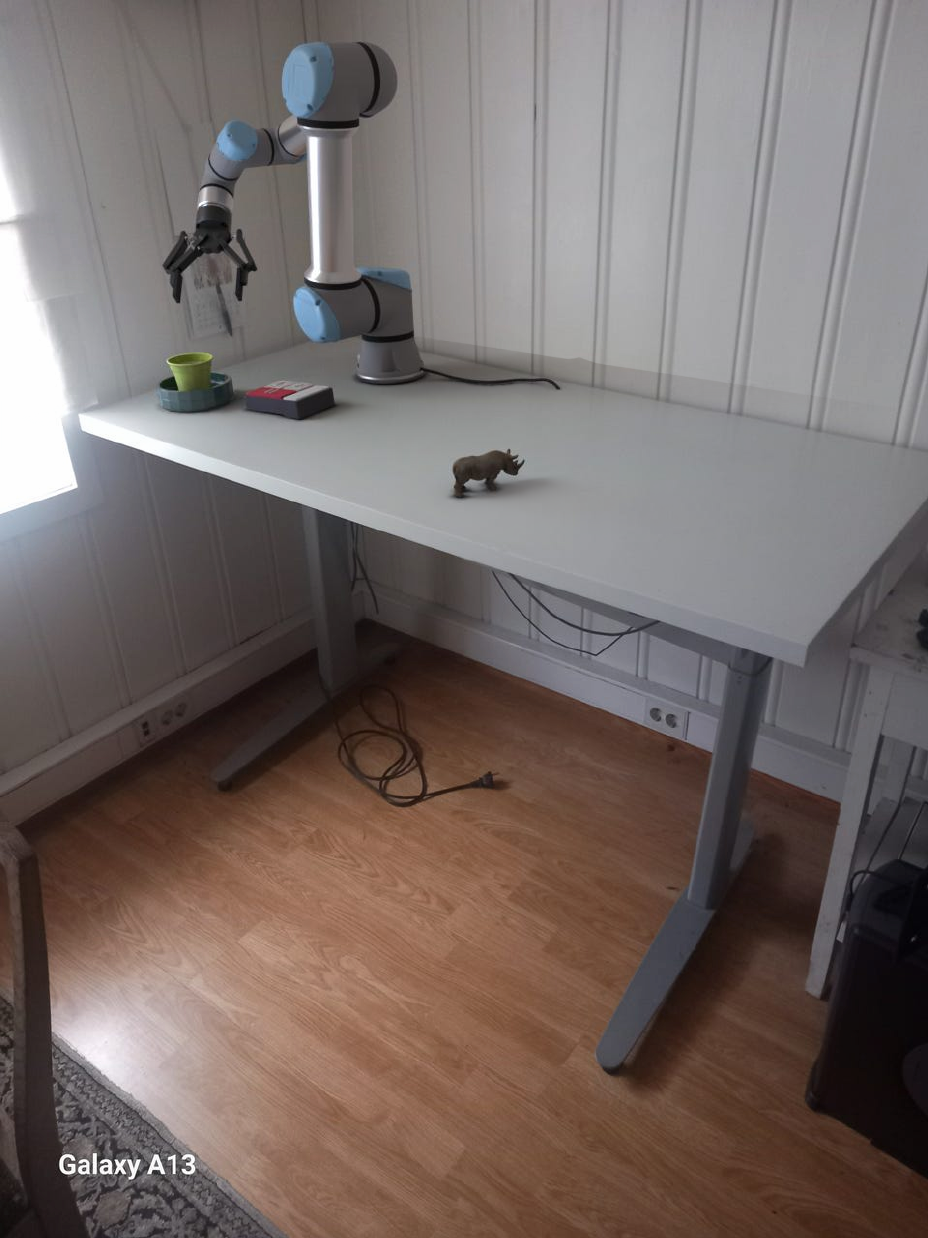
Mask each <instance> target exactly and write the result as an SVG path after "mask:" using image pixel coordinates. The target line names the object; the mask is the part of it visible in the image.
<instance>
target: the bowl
mask: <svg viewBox="0 0 928 1238" xmlns="http://www.w3.org/2000/svg"><path fill="white" fill-rule="evenodd" d="M155 387H156V392H157V397H158V403H159V406H160V407H162V408H163V409H166V410H167V411H170V412H177V413H196V412H197V413H198V412H203V411H210V410H213V409H218V408H220V407H223V406H225V405H227V404H229V403H230V402H231V401H232V400H233V399H234V397H235V391H234V384H233V379H232V375H230V373H226V372H221V371H214V370H212V371H211V387H210V388H205V389H199V390H190V391H179V389H178V386H177V383H176V380H175V377H174V375H170V376H167V377H165V378H163V379H160V380H159V381H158V382H157V383H156V386H155Z"/></svg>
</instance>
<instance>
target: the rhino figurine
mask: <svg viewBox="0 0 928 1238" xmlns="http://www.w3.org/2000/svg"><path fill="white" fill-rule="evenodd" d="M511 452H512V450H511V449H510V448H508V449H507V450H506V452H503V451H502V450H498V449H495V450H494V449H493V450H490V451H488V452H485V453H484V454H481V455H468V456H462V457H460V458H458V459H456V460H455V461H454V462H453V463H452V474H453V476H454V479H455V484H453V489H454V493H453V496H454V497H455V498H462V497H464V496H465V493H464V491H467V487H466V486H465V484H466V483H469V481H470V480H472V481H477V482H480V481H483V480H485V481H484V485H485V486H486V488H487V489H488V490H490V491H494V490H496V489H497V486H496V485H495V484H494V481H495V480H496V479H497V477H498V475H500V473H501V471H503V473H505V474H507V475H510V476H517V475H519V470H520V469H521V468H522V467H523V465H524V464H525V460H526V459H522V460H521V462H519V459H518V458H519V456H520V455H519V454H515V455H512V454H511ZM514 460H515V461H514Z"/></svg>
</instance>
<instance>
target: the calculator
mask: <svg viewBox="0 0 928 1238" xmlns="http://www.w3.org/2000/svg"><path fill="white" fill-rule="evenodd" d="M334 396H335V395H334V389H333V387H330V386H328V385H319V384H316V385H315V383H310V382H309V383H308V382H296V381H288V380H278V381H275V382H272V383H269V384H267V385H265V386H261V387H258V388H256V389H253V390H250V391H247V392H246V394H245V395H244V396H243V397H244V401H245V408H246V410H247V411H253V412H254V411H255V412H259V413H260V412H261V413H270V414H278V415H282V416H283V417H285V418H286V419H295V420H301V419H304V418H307V417H309V416H312V415H314V414H317V413H319V412H321V411H323V410H326V409H328V408H330V407H333V406H335V405H336V403H335V402H336V401H335V397H334Z"/></svg>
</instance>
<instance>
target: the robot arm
mask: <svg viewBox="0 0 928 1238" xmlns="http://www.w3.org/2000/svg"><path fill="white" fill-rule="evenodd" d="M398 82H399V81H398V72H397V69H396V66H395V64H394V60H392V58H391V56H390V55H389V54H388V53H387V52H386V51H385V50H384V49H383V48H381V47H380V46H378V45H377V44H374V43H371V42H367V41H356V42H354V41H352V42H351V41H349V42H345V41H344V42H341V41H340V42H338V41H337V42H333V41H332V42H331V41H327V42H323V41H314V42H310V43H309V42H308V43H302V44H299V45H297V46H296V47H294V48H293V49H292V50H291V51H290V53H289V55H288V57H286V60H285V62H284V66H283V71H282V76H281V91H282V97H283V100H284V101H286V102H285V106H286V108H287V110H288V111H289V112H290V113H291V116H289V117H288V118H286V119H285V120H283V121H282V122H281V123H279V124H278V125H276V126H272V127H261V128H253V127H252V125H251V124H249V123H248V122H244V121H241V120H240V119H232V120H229V121H228V122H227V123H226V124H225V125H224V127H223V128H222V129H221V131H220V132H219V133H218V136H217V138H216V140H215V142H214V145H213V146H214V147H213V146H212V147H213V149H212V151H211V153H210V154H209V157H208V158H207V160H206V163H205V171H204V176H203V180H202V184H201V188H200V190H201V189H202V190H201V191H199V190H198V196H199V197H197V207H196V208H197V209H196V211H197V212H196V217H195V230H194V232H193V233H187V232H186V231H185V230H181V231H180V233H179V238H178V240H177V242H176V244H175V245H174V246H173V248H172V249H171V251H170V252H169V254H168V255H167V257H166V258H165V260H164V262H163V263H162V268H163V270H164V271H165V273H166V275H169V284H170V286H171V288H172V298H173V300H174V302H175V303H176V304H181V300H182V299H181V298H182V289H183V288H182V287H183V278H184V277H183V275H182V273H183V272H185V271H186V270H187V269H188V268H189V266H191V264H192V263H194V262H195V261H196V260H197V259H198V258H201V257H202V256H203V255H204V254H205V255H211V254H217V255H219V254H221V253H222V252H223V253H224V254H225V255H226V256H227V257H228V258H229V259H230V260H231V261H232V262H233V263H234V264H235V265H236V266H237V267H236V274H235V289H234V295H235V298H236V299H237V301H238V302H243V292H244V287H247V286H248V282H249V274H250V273H251V272H257V271H258V266H257V264H256V262H255V259H254V258H253V255H252V254H251V252H250V250H249V248H248V246H247V244H246V236H245V234H244V232H243V230H242V228H238V229H236V231H235V232H232V225H233V224H232V223H233V221H232V220H233V211H234V195H235V187H236V184H237V182H238V180H239V178H240V177H241V175H242V173H243V172H244V171H245V169H252V168H262V167H271V166H281V165H282V166H283V165H297V164H299V163H304V162H306V172H307V195H308V196H307V197H308V218H309V219H308V220H309V221H308V222H309V242H310V243H309V244H310V246H309V247H310V266H309V267H308V268H307V269H305V271H304V272H303V280H304V281H303V282H304V285H303V286H301V287H299V288H297V290H296V291H295V293H294V295H293V302H292V303H293V311H294V314H295V315H294V316H295V318H296V320H297V323H298V325H299V327H300V328H301V330H302V331H303V333H304V334H305V335H306V336H307V338H309V339H310V340H311V341H313V342H315V343H317V344H327V343H338V342H339V341H344V340H346V339H351V338H354V337H359V336H361V345H360V350H359V354H358V353H357V360H358V363H357V365H356V378H357V380H358V381H361V382H363V383H366V384H371V385H372V384H374V385H394V384H397V385H398V384H404V383H409V382H413V381H415V380H418V379H420V378H422V377H424V375H425V373H428V374H433V375H437V376H439V377H440V376H441V377H444V378H446V379H450V380H454V381H459V382H464V383H470V384H481V385H495V384H496V385H499V384H508V383H517V382H518V383H519V382H520V383H522V382H523V383H525V382H526V383H538V382H540V383H541V382H546V383H549V384H550V385H552V387H554V388H555V389H556V390H558V391H559V390H561V387H560V386H559V385H558V383H556V382H555V381H554V380H552V379H550V378H545V377H539V378H538V377H536V378H522V377H521V378H520V377H519V378H508V379H499V380H497V379H496V380H482V379H471V378H465V377H460V376H455V375H450V374H448V373H444V372H440V371H437V370H433V369H430V368H426V367H425V364H424V361H423V359H422V358H421V355H420V352H419V349H418V346H417V343H416V339H415V328H414V327H415V325H414V313H413V311H414V309H413V289H412V285H411V284H412V283H411V276H410V274H409V272H407V270H404V269H401V268H395V267H384V266H360V267H356V266H355V265H354V263H355V262H354V259H355V257H354V207H353V206H354V203H353V200H354V199H353V147H352V146H353V144H352V143H353V142H352V137H353V136H354V135H355V133H356V132H357V131H358V130H359V129H360V118H361V119H370V118H373V117H374V116H375V115H377V114H379V113H380V112H382V111H383V110H385V109H386V108H388V106H389V105H390V104H391V103H392V101H393V100H394V98H395V96H396V93H397V90H398ZM208 162H209V163H208ZM211 169H212V170H211ZM233 240H234V242H235V243H237V244H238V245H239V247H240V249H241V251H242V253H243V255H244V257H245V259H246V261H247V262H246V261H244V260H243V259H242V258H241V257H240V256H239V255H238V254H237V252H236V251H235V250H234V249H233V248H232V246H230V244H231V242H232V241H233ZM189 246H190V247H189Z"/></svg>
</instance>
